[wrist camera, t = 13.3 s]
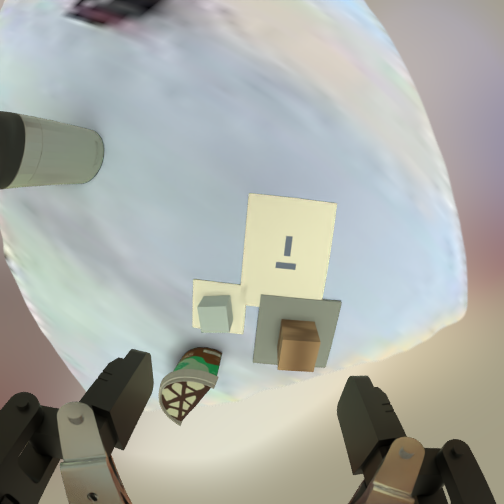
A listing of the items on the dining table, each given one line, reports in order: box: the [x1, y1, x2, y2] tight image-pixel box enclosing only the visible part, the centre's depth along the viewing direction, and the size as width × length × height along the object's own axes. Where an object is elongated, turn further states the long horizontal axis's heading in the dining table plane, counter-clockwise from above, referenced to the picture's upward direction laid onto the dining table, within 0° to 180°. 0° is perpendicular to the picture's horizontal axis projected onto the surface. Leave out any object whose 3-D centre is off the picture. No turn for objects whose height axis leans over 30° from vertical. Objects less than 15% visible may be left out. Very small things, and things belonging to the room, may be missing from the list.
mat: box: [253, 294, 342, 368], centre depth 40 cm, size 12×12×1 cm
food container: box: [159, 347, 222, 426], centre depth 38 cm, size 12×6×10 cm, turn 147°
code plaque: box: [239, 193, 337, 307], centre depth 38 cm, size 12×16×1 cm
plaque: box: [193, 279, 248, 334], centre depth 40 cm, size 8×8×1 cm
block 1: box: [197, 295, 233, 333], centre depth 38 cm, size 4×4×4 cm
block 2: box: [277, 319, 321, 372], centre depth 37 cm, size 5×5×6 cm
